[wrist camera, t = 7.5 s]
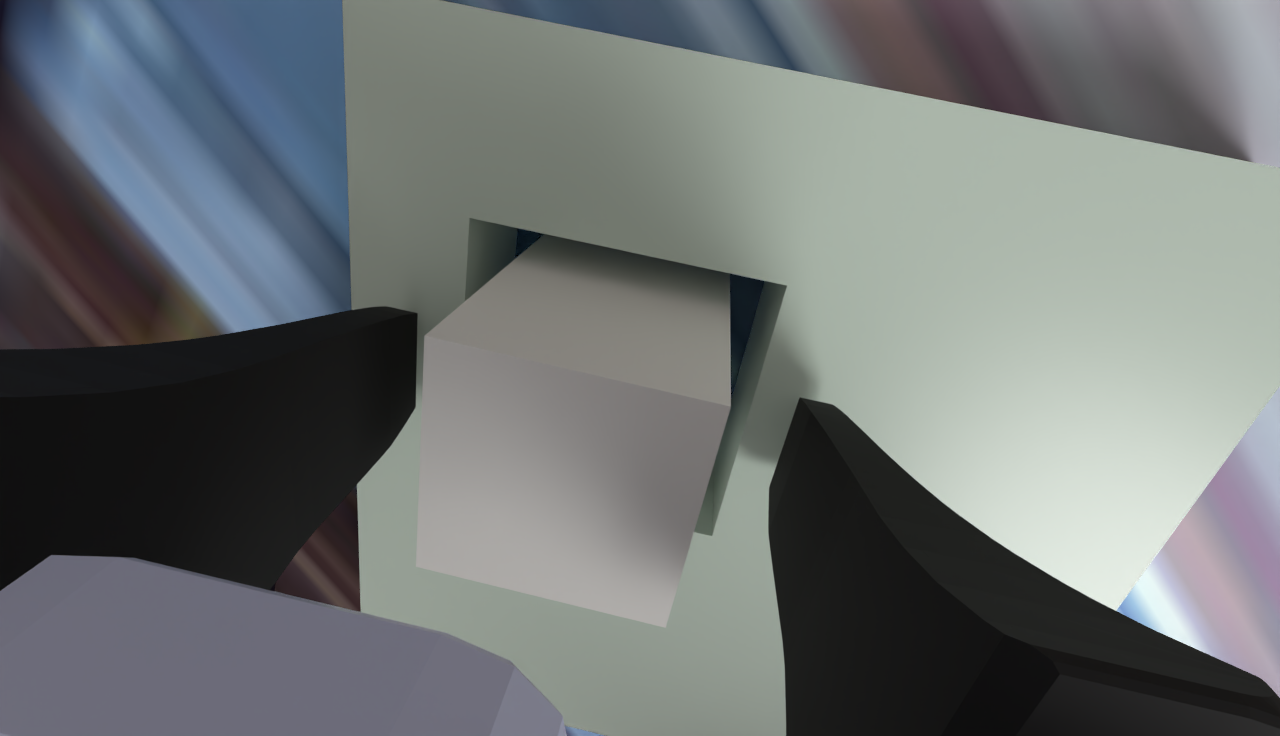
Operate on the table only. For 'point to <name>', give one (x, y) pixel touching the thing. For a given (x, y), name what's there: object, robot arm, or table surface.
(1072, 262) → the pale green square slab
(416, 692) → the robot arm
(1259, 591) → the table surface
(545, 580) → the block
